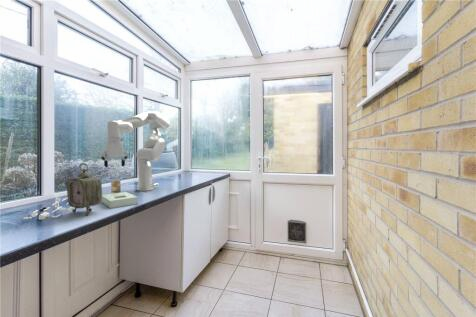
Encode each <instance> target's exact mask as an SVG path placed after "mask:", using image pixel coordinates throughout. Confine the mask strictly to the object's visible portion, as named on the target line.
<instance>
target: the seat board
mask: <svg viewBox="0 0 476 317" xmlns="http://www.w3.org/2000/svg"><path fill="white" fill-rule="evenodd" d="M100 203H102V204H104V205H105V206H106V207H108V208H109V209H115V208H116V209H117V208H120V207H127V206H132V205H133V206H134V205H138V196H136V195H135V194H134V195H133V194H131V193H129V192H127V191H123V192H122V191H121V193H113V194H111V193H108V194H106V193H105V194H102V201H101V202H100Z"/></svg>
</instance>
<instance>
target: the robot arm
mask: <svg viewBox="0 0 476 317" xmlns="http://www.w3.org/2000/svg"><path fill="white" fill-rule="evenodd" d="M148 124H149V129H150V134H149V136H148V137H147V139H146V141H145V142H144V147H143V148H139V149H138V150H137V152H136V159H137V167H138V168H137V169H138V171H137V172H138V175H137V176H138V187H136V191H137V192H138V191H139V192H145V191H146V192H147V191H153V190H155V187H159V183H153V168H152V164H151V162H157V161H158V160H159V159H160V157H161V155H162V154H163V152H164V151H165V148H166V141H165V140H164V138H162V134H161V131H160V130H161V129H163V130H164V129H169V127H170V126H171V125H170V124H171V122H170V120H169V119H168V118H167V117H166V116H165V115H164V114H162V113H161V112H159V111H156V110H153V111H152V110H151V111H144V112H142V113H139V114H136V115H133V116H130V117H126V118H123V119H119V120H108V121H107V126H106V127H107V141H106V142H105V148H104V149H105V150H104V151H103V152H100V153H99V154H98V155H99V157H100V158H101V160H103V164H104V167H105V168H108V166H109V165H108V162H109V161H108V160H109V159H112V158H113V159H117V158H118V159H119V158H120V159H121V162H120V163H121V167H125V165H126V160H127V159H128V157H129V155H130V154H129V152H126V151H125V150H124V145H123V141H124V138H122V135H121V134H130V133H131V132H132V131H133V130H134V129H137V128H141V127H143V126H146V125H148ZM103 155H104V156H105V157H104V156H103ZM124 155H125V156H124Z"/></svg>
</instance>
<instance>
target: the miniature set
mask: <svg viewBox="0 0 476 317" xmlns="http://www.w3.org/2000/svg"><path fill="white" fill-rule="evenodd" d="M60 199H61V197H58V196H56V197H55V199H54V202H53V203H52V206H54V209H55V210H53V211H52V213H54V212H56V211H68V212H69V211H70V212H72V210H73V209H75V207H72V206H70V207H68V208H67V207H63V206H62V205H61V206H60V201H61V202H64V201H65V200H67V201H68V196H66V197H65V198H63V199H61V200H60ZM67 205H69V203H68V202H67V203H66V204H65V206H67ZM50 208H51V207H50V206H49V207H47V206H43V207H42V208H40V211H39V209H36V210H34V211H33V212H31V214H30V216H25V217H23V218H22V220H32V219H33V218H35V217H37V216H38V220H45V219H47V218H49V217H50V215H51V213H50V212H47V211H48V210H49V209H50ZM38 211H39V212H40V214H39V213H38ZM61 216H62V213H59V214H58V215H52V216H51V218H54V219H55V218H56V219H58V218H59V217H61Z"/></svg>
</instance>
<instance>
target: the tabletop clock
mask: <svg viewBox="0 0 476 317" xmlns="http://www.w3.org/2000/svg"><path fill="white" fill-rule="evenodd" d="M82 165H84V166H85V167H86V168H82V169H81V166H82ZM78 169H79V171H81V172H80V173H78V175H77V177H74V178H69V179H67V186H66V195H67V196H66V197H68V200H67V203H69V204H68V205H69V206H70V207H74V208H75V209H71V212H72V213H76V212H77V209H84V208H85V210H86V211H85V213H84V214H85V216H88V215H89V214H90V213H91V212H92V211H93V209H92V208H91V207H93V206H97V205H100V203H102V202H101V201H102V195H103V188H102V181H101V179H99V178H97V177H93V176H91V175H90V173H89V172H88V170H89V165H88V164H87V163H84V162H82V163H80V164H79V168H78ZM89 212H90V213H89Z"/></svg>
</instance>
